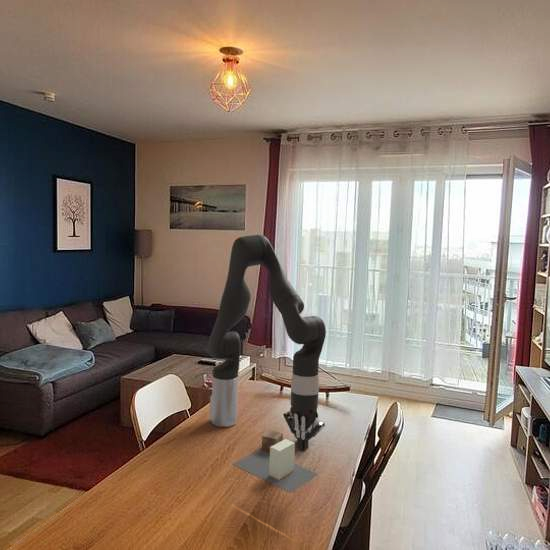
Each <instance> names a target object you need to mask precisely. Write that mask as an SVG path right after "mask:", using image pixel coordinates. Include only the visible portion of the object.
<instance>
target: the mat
mask: <svg viewBox="0 0 550 550" xmlns="http://www.w3.org/2000/svg"><path fill="white" fill-rule="evenodd" d="M232 465H233V466H235V467H237V468H238V469H241V470H243V471H245V472H248V473H249V474H252V475H253V476H255V477H258V478H260V479H261V480H264V481H266V482H268V483H270V484H272V485H273V486H276V487H278V488H280V489H282V490H284V491H285V492H288V493H290V494H291V493H293V492H295V491H296V490H297V489H299V488H300V487H302V486H304V485H305V484H306V483H308V482H309V481H311V479H313V478H315V477H317V476H318V475H319V473H317V472H315V471H312V470H310V469H308V468H306V467H303V466H302V465H299V464H296V463H294V471H293V472H291V473H290V474H288V475H286V476H285V477H283V478H282V479H280V480H277V479H275V478H273V477H271V476H269V465H270V451H266V450H262V448H260V449H259V450H257V451H255V452H253V453H251V454H248V455H247V456H245V457H244V458H241V459H240V460H237V461H235V462H233V463H232Z"/></svg>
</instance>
